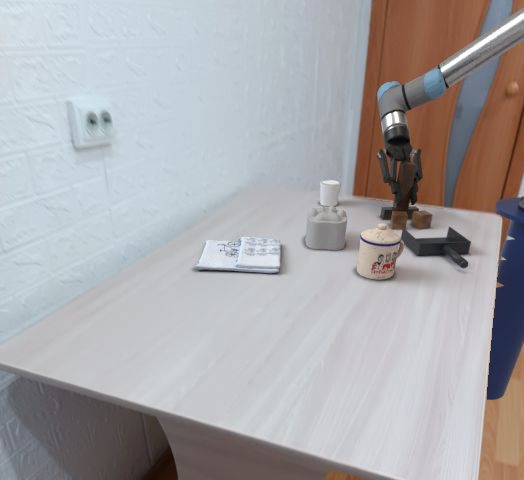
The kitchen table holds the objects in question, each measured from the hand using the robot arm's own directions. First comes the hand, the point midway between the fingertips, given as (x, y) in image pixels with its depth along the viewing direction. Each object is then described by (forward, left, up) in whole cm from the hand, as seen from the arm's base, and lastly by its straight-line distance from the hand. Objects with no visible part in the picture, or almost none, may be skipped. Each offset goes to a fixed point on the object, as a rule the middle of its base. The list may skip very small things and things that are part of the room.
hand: (406, 202), depth 141 cm
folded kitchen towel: (+52, +22, -6) cm, 57 cm away
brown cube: (+4, +4, -6) cm, 8 cm away
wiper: (0, -4, -6) cm, 7 cm away
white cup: (+18, -20, -6) cm, 27 cm away
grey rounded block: (+28, +13, -6) cm, 32 cm away
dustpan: (0, +26, -6) cm, 27 cm away
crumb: (-3, +4, -6) cm, 8 cm away
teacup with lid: (+20, +34, -6) cm, 40 cm away
